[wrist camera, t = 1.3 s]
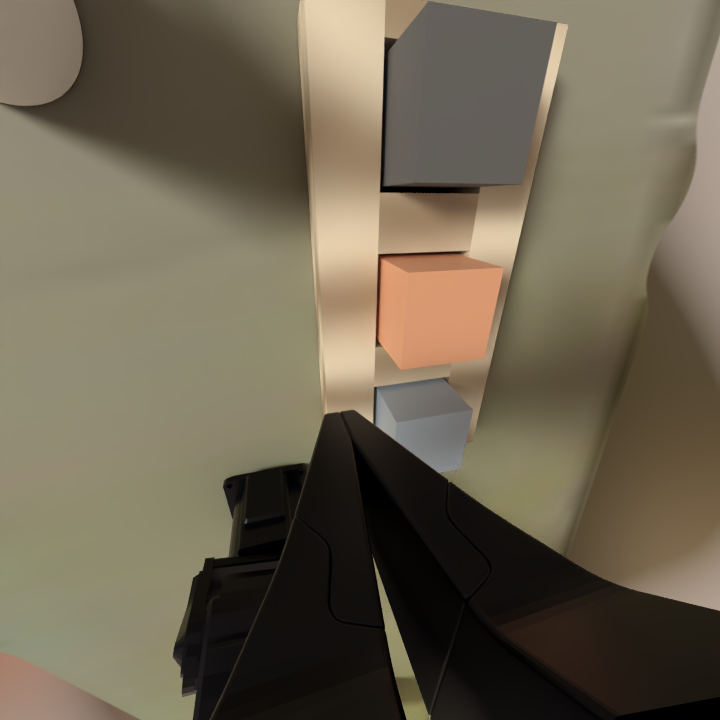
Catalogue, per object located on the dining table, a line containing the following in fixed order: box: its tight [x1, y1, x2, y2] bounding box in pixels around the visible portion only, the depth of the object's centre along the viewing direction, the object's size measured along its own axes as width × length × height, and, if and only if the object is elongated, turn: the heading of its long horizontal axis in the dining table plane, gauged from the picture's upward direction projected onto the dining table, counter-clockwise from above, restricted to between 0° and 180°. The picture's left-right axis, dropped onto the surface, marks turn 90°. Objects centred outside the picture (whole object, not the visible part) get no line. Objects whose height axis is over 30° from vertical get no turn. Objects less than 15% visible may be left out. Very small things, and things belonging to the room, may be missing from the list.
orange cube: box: [376, 252, 504, 370], centre depth 18 cm, size 5×5×5 cm
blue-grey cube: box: [373, 378, 473, 473], centre depth 22 cm, size 5×5×5 cm
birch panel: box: [297, 0, 568, 443], centre depth 20 cm, size 25×12×3 cm, turn 0°
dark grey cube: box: [380, 1, 557, 188], centre depth 14 cm, size 5×5×5 cm
